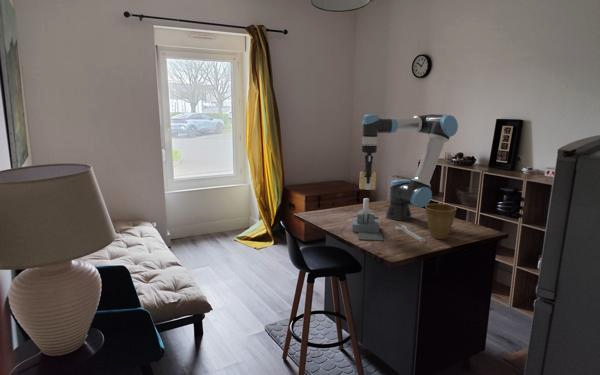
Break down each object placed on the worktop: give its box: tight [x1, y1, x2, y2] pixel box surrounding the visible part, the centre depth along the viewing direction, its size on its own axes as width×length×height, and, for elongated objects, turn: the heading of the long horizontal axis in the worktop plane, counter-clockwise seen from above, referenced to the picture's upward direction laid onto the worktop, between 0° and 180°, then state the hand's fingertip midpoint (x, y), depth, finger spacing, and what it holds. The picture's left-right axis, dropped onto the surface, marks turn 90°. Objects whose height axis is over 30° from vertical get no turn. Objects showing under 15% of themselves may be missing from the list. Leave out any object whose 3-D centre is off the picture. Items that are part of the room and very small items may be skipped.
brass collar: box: [358, 171, 377, 191], centre depth 204 cm, size 8×8×8 cm
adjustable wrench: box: [394, 224, 426, 243], centre depth 203 cm, size 25×6×2 cm, turn 11°
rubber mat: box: [357, 232, 385, 242], centre depth 198 cm, size 12×11×1 cm
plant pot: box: [424, 203, 458, 240], centre depth 198 cm, size 15×15×16 cm
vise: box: [351, 197, 380, 233], centre depth 209 cm, size 14×11×17 cm
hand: (367, 187), depth 205 cm, fingers closed on brass collar, 8 cm apart
